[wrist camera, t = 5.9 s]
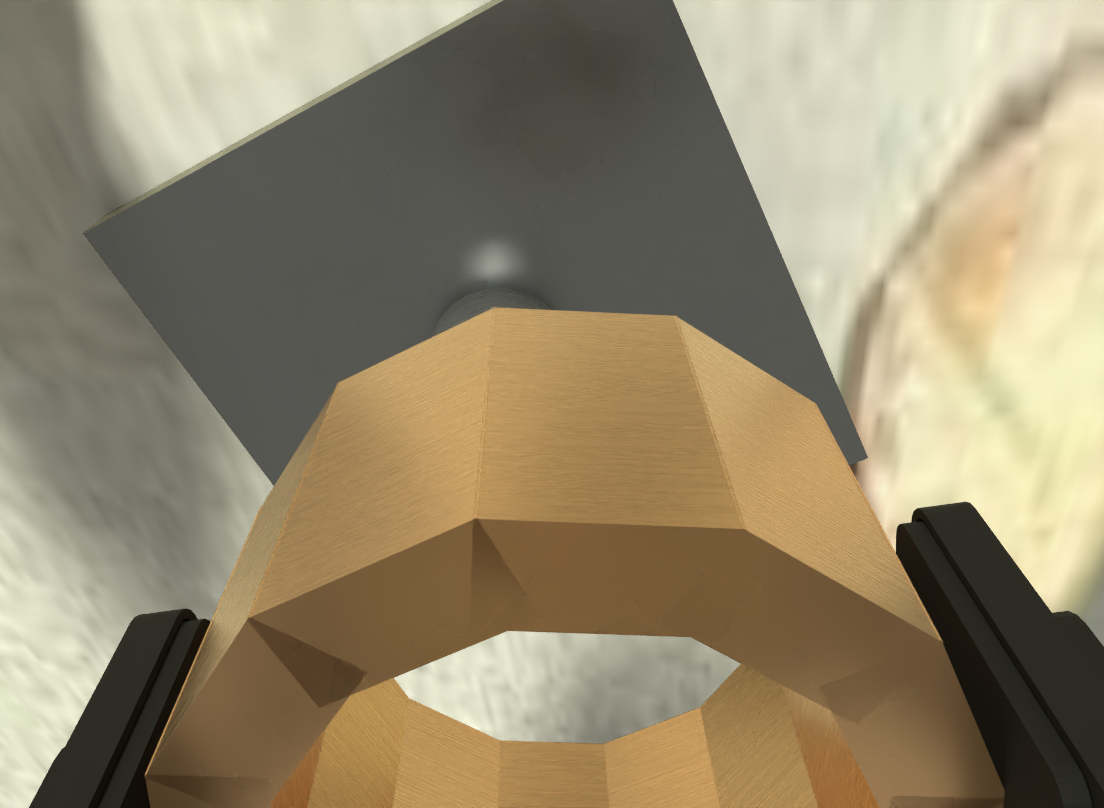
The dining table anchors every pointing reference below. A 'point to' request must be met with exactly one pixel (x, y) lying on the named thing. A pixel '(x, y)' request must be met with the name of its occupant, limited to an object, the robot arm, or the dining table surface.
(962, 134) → the dining table surface
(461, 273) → the block
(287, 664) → the copper ring
